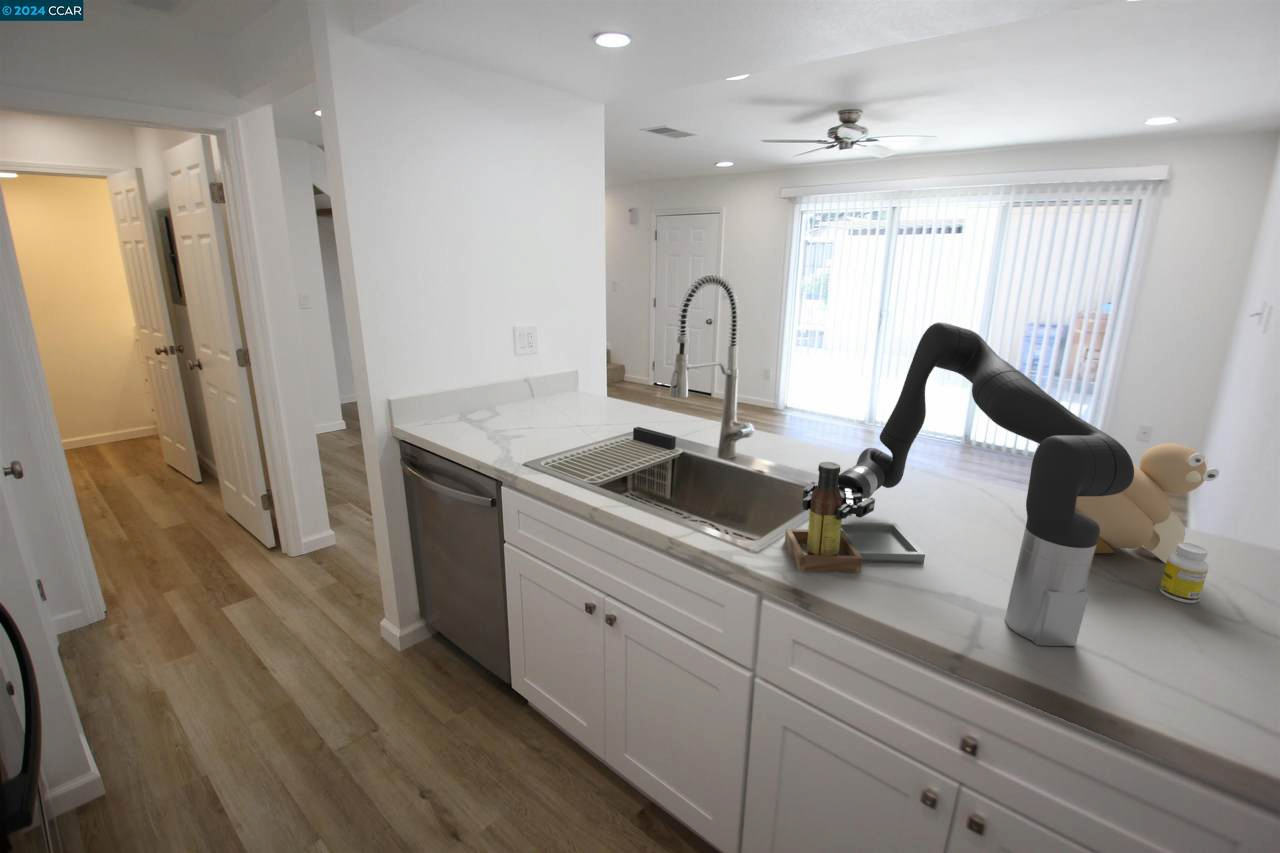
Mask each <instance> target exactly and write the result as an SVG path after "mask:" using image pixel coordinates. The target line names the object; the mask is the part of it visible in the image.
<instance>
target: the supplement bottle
mask: <svg viewBox="0 0 1280 853" xmlns="http://www.w3.org/2000/svg"><path fill="white" fill-rule="evenodd" d="M1207 555H1208V550H1207V549H1206V548H1204V547H1203V546H1200V545H1197V544H1194V543H1190V542H1189V543H1188V542H1183V543H1178V545H1177V548H1176V553H1173V554H1171V555H1170V556H1169V557H1168V560H1167V563H1165V567H1164V571H1163V575H1162V578H1161V582H1160V584H1159V588H1158V589H1159V591H1160V593H1161V594H1163V595H1164V596H1165V597H1167V598H1169V599H1171V600H1174V601H1178V602H1181V603H1187V604H1191V603H1192V604H1194V603H1195V604H1196V603H1197V602H1198V601H1199V599H1200V597H1201V592H1202V590H1203V588H1204V584H1205V581H1206V578H1207V574H1208V571H1209V567H1210V566H1209V564H1208V563H1207V561H1206V559H1207Z"/></svg>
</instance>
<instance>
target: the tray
mask: <svg viewBox="0 0 1280 853" xmlns="http://www.w3.org/2000/svg"><path fill="white" fill-rule="evenodd" d="M841 530H843V532H844V533H845V534H846V536H847V537H848V539H849V540H850V541H851V543H852V544H853V545H854V547H855V548H856V550H857V551H858V552H859V554H860V555H861V556H862V558H863V562H862V563H889V564H893V563H894V564H895V563H896V564H924V563H925V558H926V554H925V552H923V550H922V549H921V548H920V547H919V546H918V545H917V544H916V543H915V542H914V540H912V539H911V538H910V537H909V536H908V534H906V532H905V531H904V530H903V529H902V528H901V527H900V525H898V524H897V523H895V522H894V523H891V522H890V523H889V522H846V521H845V522H844V521H843V522H842V523H841Z"/></svg>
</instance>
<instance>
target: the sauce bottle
mask: <svg viewBox="0 0 1280 853" xmlns="http://www.w3.org/2000/svg"><path fill="white" fill-rule="evenodd" d="M840 474H841V465H840V464H839V463H836V462H833V461H832V462H831V461H822V462H820V463H819V464H818V481H817V487H816V488H815V489H814V491H813V492H812V494H811V507H810V509H809V516H808V517H809V518H808V528H807V530H808V541H807V545H806V549H807V555H838V556H839V552H840V548H839V546H840V534H841V523H842V521H843V519H841V520H837V519H836V514H837V510H838V508H840V507H841V506H842V503H843V499H842V497H841V494H840V491H839V488H838V478H839V475H840Z"/></svg>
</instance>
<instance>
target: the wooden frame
mask: <svg viewBox="0 0 1280 853" xmlns="http://www.w3.org/2000/svg"><path fill="white" fill-rule="evenodd" d="M807 541H808V529H795V528H791V529H789V528H787V529H785V537H784V543H785V545H786V547H787V550H788V552H789V553H790V556H791V557H792V559H793V561H794V564H795V566H796V567H797V569H798V572H821V573H822V572H823V573H825V572H826V573H827V572H828V573H862V569H863V568H862V567H863V563H864V562H863V558H862V556H861V555H860V554H859V552H858V551H857V550H856V548H855V547H854V545H853V544H852V543H851V541H850V540H849V539H848V537H847V536H846V534H845V533H844V532H843V530H841V534H840V546H839V550H840V551H841V552H842V554H843V555H839V554H838V555H808V554H805V553H804V551H803V549H802V548H801V546H800V545H806V546H807Z"/></svg>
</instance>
